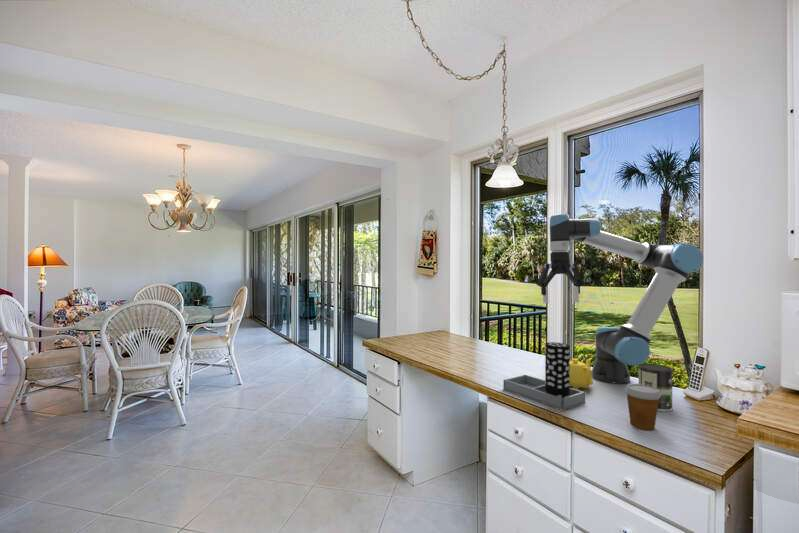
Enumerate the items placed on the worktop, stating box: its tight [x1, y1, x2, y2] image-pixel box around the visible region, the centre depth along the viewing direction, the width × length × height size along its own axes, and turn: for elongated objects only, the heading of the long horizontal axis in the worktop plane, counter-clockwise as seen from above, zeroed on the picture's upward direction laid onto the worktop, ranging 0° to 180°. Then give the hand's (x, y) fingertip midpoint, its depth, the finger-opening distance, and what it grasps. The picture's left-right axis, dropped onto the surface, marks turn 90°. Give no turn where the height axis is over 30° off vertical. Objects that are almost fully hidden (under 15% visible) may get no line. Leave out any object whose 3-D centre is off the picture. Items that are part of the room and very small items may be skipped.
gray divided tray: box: [503, 374, 586, 411], centre depth 145 cm, size 26×14×4 cm, turn 34°
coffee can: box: [637, 363, 674, 412], centre depth 135 cm, size 10×10×14 cm
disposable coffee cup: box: [624, 383, 661, 431], centre depth 118 cm, size 10×10×12 cm
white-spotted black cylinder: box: [544, 341, 571, 398], centre depth 140 cm, size 8×8×20 cm
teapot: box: [570, 357, 594, 391], centre depth 156 cm, size 20×15×12 cm
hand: (561, 302), depth 157 cm, fingers open, 13 cm apart
